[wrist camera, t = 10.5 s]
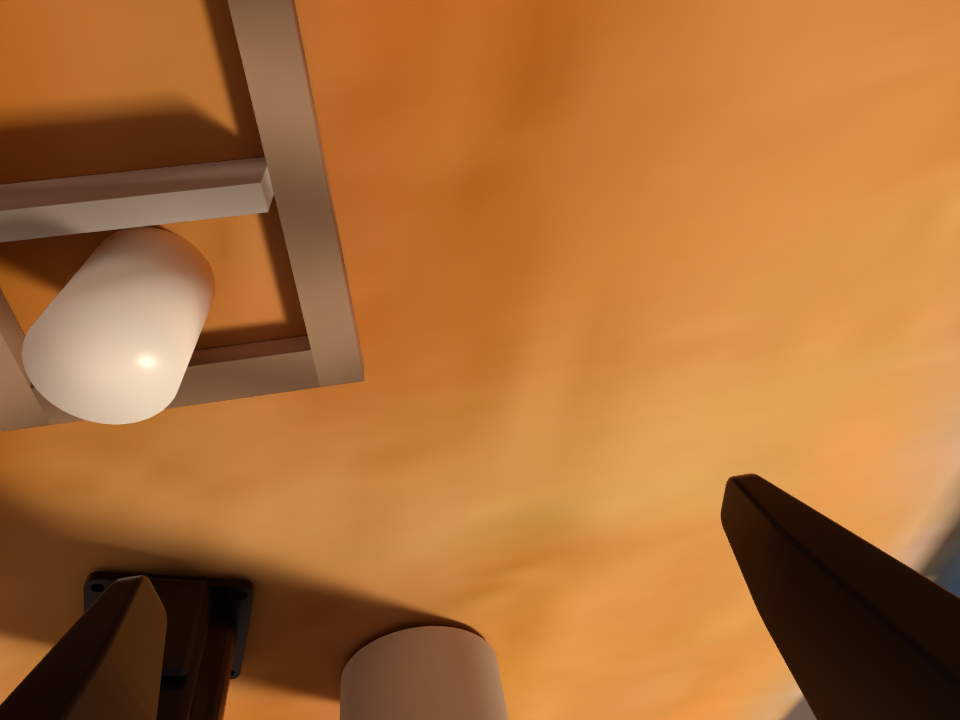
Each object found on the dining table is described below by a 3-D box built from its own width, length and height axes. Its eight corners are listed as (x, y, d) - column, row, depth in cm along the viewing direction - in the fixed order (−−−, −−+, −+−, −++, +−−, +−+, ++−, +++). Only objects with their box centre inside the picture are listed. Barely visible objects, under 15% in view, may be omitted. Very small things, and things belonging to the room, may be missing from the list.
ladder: (363, 365, 23) (364, 406, 21) (14, 413, 22) (-20, 461, 20) (122, -902, 10) (63, -1114, 8) (-759, -948, 9) (-1088, -1209, 7)
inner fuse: (228, 322, 22) (198, 413, 18) (115, 337, 21) (58, 433, 17) (196, 220, 20) (154, 295, 16) (71, 233, 19) (-6, 314, 15)
